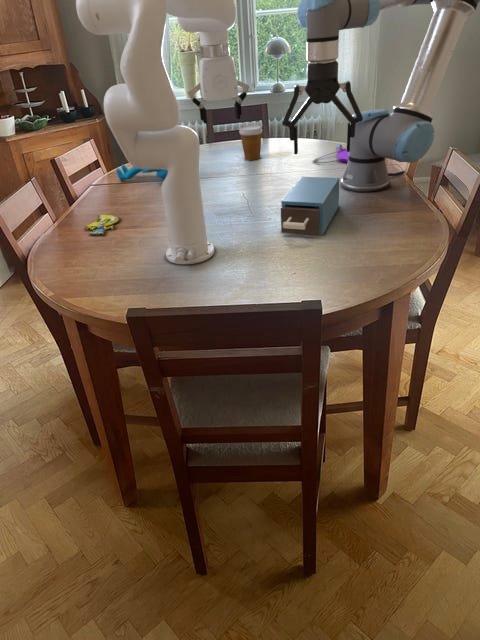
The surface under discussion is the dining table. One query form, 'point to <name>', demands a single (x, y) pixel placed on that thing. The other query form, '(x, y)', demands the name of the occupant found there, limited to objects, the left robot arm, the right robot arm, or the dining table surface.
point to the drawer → (300, 219)
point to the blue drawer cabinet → (316, 197)
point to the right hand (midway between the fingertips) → (321, 151)
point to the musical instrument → (341, 155)
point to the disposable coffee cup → (251, 141)
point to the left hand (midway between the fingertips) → (221, 120)
